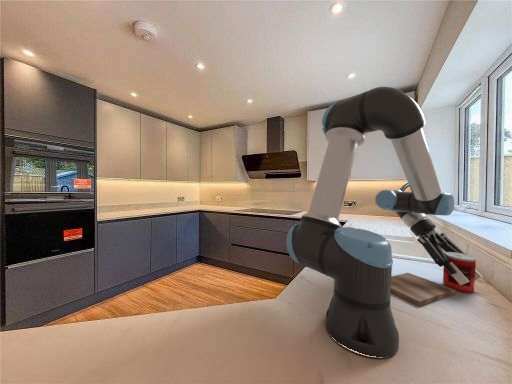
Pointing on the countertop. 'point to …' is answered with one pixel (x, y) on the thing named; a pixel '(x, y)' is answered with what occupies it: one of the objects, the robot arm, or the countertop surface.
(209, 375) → the countertop surface
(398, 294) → the walnut board
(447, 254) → the canned food
